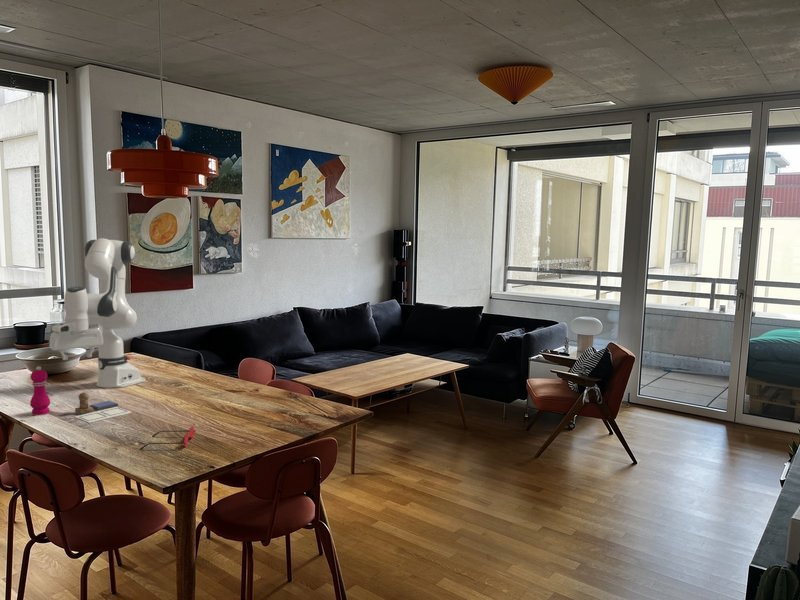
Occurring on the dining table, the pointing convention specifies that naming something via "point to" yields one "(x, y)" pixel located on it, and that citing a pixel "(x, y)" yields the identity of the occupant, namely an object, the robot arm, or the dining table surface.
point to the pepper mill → (39, 393)
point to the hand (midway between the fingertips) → (77, 358)
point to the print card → (102, 414)
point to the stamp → (83, 404)
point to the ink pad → (103, 405)
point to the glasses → (185, 441)
